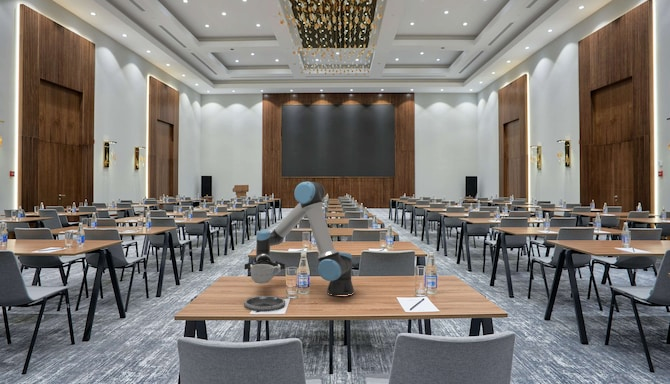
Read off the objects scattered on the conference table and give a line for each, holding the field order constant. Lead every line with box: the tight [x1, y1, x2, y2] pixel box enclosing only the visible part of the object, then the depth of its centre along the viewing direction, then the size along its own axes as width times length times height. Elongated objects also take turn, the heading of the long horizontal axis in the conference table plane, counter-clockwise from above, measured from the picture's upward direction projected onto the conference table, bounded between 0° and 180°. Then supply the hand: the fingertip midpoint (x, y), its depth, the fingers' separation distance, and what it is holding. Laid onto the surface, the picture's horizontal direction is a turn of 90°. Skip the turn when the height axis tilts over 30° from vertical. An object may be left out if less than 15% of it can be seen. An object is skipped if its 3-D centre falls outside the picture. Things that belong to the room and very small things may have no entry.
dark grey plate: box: [243, 295, 286, 312], centre depth 205 cm, size 20×20×2 cm
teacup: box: [250, 264, 281, 285], centre depth 202 cm, size 14×11×8 cm
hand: (265, 269), depth 204 cm, fingers closed on teacup, 13 cm apart
